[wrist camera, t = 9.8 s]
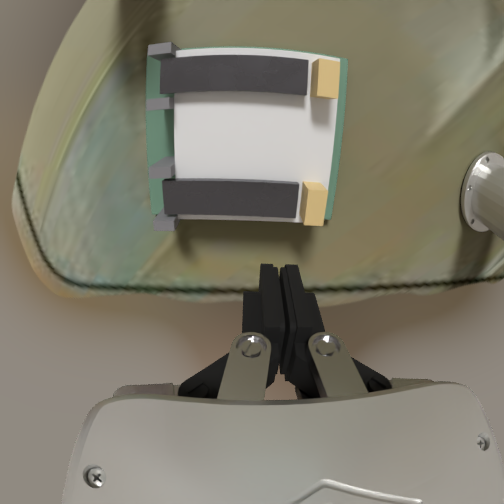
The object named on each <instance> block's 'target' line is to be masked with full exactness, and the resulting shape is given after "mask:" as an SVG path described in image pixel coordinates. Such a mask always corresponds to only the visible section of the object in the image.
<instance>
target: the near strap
mask: <svg viewBox="0 0 504 504" xmlns="http://www.w3.org/2000/svg"><path fill="white" fill-rule="evenodd" d="M308 64H309V60H305V59H297V58H288V57H277V56H262V55H203V56H188V57H176V58H167V59H161V66H160V94H171V93H185V92H207V91H247V92H268V93H282V94H293V95H303V96H306V95H307V83H308Z"/></svg>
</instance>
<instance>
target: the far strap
mask: <svg viewBox="0 0 504 504" xmlns="http://www.w3.org/2000/svg"><path fill="white" fill-rule="evenodd" d="M162 190H163V203H164V214H182V215H227V216H255V217H278V218H296V212H297V203H298V193H299V183H298V182H291V181H274V180H254V179H219V178H172V179H164V180H162Z"/></svg>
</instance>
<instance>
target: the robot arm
mask: <svg viewBox="0 0 504 504" xmlns="http://www.w3.org/2000/svg"><path fill="white" fill-rule="evenodd" d="M461 208H462V214H463V217H464V219H465V221H466V223H467V224H468V225H469V226H470V227H471V228H472V229H474V230H476V231H478V232H484V231H487V230H489V229H490V230H491V231H492V232H493V233H495V234H496V235H497V236H498V237H500V238H501V239H502V240H503V241H504V158H503V157H502V156H500V155H499V154H497V153H494V152H484V153H482V154H481V155H479V156H478V157H477V158H476V159H475V160H474V161H473V163H472V164H471V166H470V167H469V169H468V171H467V174H466V176H465V179H464V183H463V186H462V193H461ZM278 366H280V374H285V381H289V382H290V383H292V384H293V385H295V392H296V395H297V399H298V400H264V396H265V389H266V388H267V387H268V386H270V385H271V384H272V383H273V382H274V379H275V374H277V371H278ZM62 504H504V466H503V462H502V458H501V455H500V452H499V448H498V445H497V442H496V439H495V436H494V433H493V430H492V428H491V425H490V423H489V420H488V418H487V416H486V414H485V411H484V409H483V407H482V405H481V403H480V402H479V400H478V398H477V397H476V395H475V394H474V392H473V391H472V390H471V389H470V388H468V387H467V386H465V385H463V384H459V383H454V382H443V381H440V382H434V381H432V380H428V379H400V378H392V379H391V380H388V379H387V378H385V377H384V376H383V375H381V374H379V373H378V372H376V371H374V370H372V369H371V368H369V367H367V366H365V365H364V364H362V363H360V362H358V361H357V360H355V359H354V358H352V357H351V356H350V354H349V352H348V350H347V348H346V347H345V344H344V342H343V341H342V340H341V338H339V337H338V336H337V335H335V334H333V333H329V332H325V329H324V326H323V322H322V318H321V315H320V311H319V308H318V304H317V301H316V297H315V294H314V293H305V292H304V288H303V284H302V280H301V276H300V272H299V268H298V265H289V264H286V265H285V268H284V267H281V268H280V276H279V275H278V268H277V267H273V264H261V266H260V280H259V292H248V291H244V293H243V322H242V334H240V335H238V336H237V337H236V338H235V339H234V340H233V342H232V346H231V349H230V352H229V353H228V354H226V355H225V356H223V357H222V358H220V359H219V360H217V361H215V362H214V363H213V364H211V365H210V366H208V367H206V368H205V369H203V370H202V371H200V372H198V373H197V374H195V375H194V376H192V377H190V378H189V379H187V380H186V381H185V382H183V383H182V384H181V385H173V383H166V384H151V385H150V384H148V385H126V386H122V387H120V388H118V389H117V390H116V391H115V392H114V394H113V397H112V398H108V399H105V400H103V401H101V402H99V403H97V404H96V405H95V406H94V407H93V408H92V409H91V410H90V411H89V413H88V414H87V416H86V418H85V420H84V422H83V424H82V426H81V429H80V431H79V434H78V436H77V439H76V442H75V445H74V449H73V452H72V456H71V459H70V463H69V467H68V472H67V476H66V481H65V486H64V491H63V497H62Z"/></svg>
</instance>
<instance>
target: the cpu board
mask: <svg viewBox="0 0 504 504" xmlns="http://www.w3.org/2000/svg"><path fill="white" fill-rule="evenodd" d="M203 55H262V56H277V57H288V58H297V59H305V60H309V64H308V83H307V95H306V96H303V95H293V94H282V93H268V92H247V91H207V92H185V93H171V94H160V66H161V59H167V58H176V57H188V56H203ZM347 68H348V59H345V58H340V57H335V56H330V55H324V54H318V53H312V52H305V51H297V50H288V49H278V48H264V47H200V48H186V49H180V48H179V47H177V46H176V45H175V44H173V43H172V42H167V43H159V44H152V45H148V53H147V68H146V142H147V162H148V177H149V189H150V200H151V210H152V214H158V215H157V216H156V218H155V219H154V220H153V224H154V231H175V229H176V227H177V226H178V224H179V222H180V220H181V219H209V220H248V221H276V222H299V223H303V224H304V225H312V226H323V223H324V219H329V220H331V215H332V209H333V203H334V197H335V190H336V183H337V176H338V168H339V160H340V152H341V143H342V134H343V124H344V113H345V101H346V86H347ZM172 178H219V179H254V180H274V181H291V182H298V183H299V193H298V203H297V212H296V218H278V217H255V216H227V215H182V214H164V203H163V190H162V180H164V179H172Z"/></svg>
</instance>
